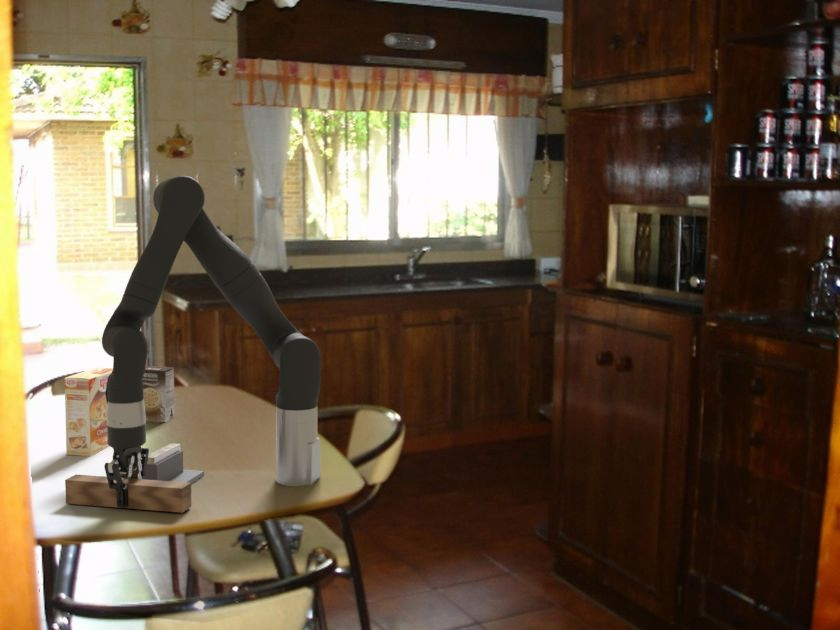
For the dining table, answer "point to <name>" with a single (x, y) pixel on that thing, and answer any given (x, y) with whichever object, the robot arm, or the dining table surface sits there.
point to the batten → (129, 493)
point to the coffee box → (158, 393)
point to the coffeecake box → (86, 412)
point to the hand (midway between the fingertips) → (128, 502)
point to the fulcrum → (169, 466)
